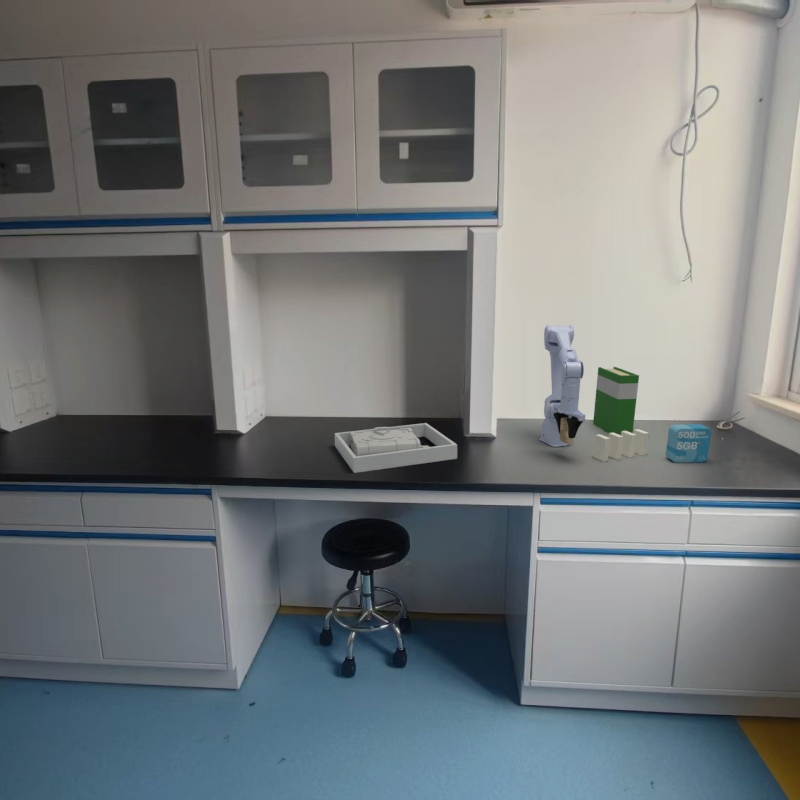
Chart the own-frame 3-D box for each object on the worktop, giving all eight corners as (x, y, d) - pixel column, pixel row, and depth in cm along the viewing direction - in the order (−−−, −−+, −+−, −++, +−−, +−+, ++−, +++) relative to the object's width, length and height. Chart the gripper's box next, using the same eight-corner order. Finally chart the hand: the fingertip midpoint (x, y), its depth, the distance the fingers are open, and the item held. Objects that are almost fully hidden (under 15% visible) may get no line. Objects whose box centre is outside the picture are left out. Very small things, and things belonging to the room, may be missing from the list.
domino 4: (619, 453, 180) (621, 431, 178) (623, 452, 180) (625, 430, 178) (629, 457, 175) (631, 435, 173) (633, 456, 176) (636, 434, 174)
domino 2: (593, 456, 176) (595, 434, 174) (598, 456, 177) (600, 434, 175) (603, 461, 172) (605, 439, 170) (608, 460, 172) (610, 438, 170)
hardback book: (593, 423, 214) (598, 367, 208) (610, 423, 215) (615, 366, 209) (613, 436, 197) (620, 375, 191) (632, 436, 198) (639, 375, 192)
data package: (671, 462, 170) (676, 428, 167) (664, 458, 175) (669, 424, 172) (707, 462, 171) (712, 428, 168) (699, 457, 175) (704, 424, 172)
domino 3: (606, 454, 178) (608, 433, 176) (611, 454, 179) (613, 432, 177) (616, 459, 174) (618, 437, 172) (621, 458, 174) (623, 436, 172)
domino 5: (631, 451, 181) (633, 429, 180) (635, 450, 182) (638, 429, 180) (641, 455, 177) (644, 433, 175) (646, 454, 178) (649, 432, 176)
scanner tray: (335, 446, 188) (334, 433, 187) (426, 435, 200) (426, 423, 199) (354, 472, 163) (353, 458, 162) (457, 458, 175) (457, 444, 174)
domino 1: (559, 440, 177) (561, 417, 175) (564, 439, 178) (565, 417, 176) (568, 444, 173) (569, 421, 171) (573, 443, 173) (574, 421, 171)
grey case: (436, 458, 176) (436, 437, 174) (355, 464, 171) (354, 442, 169) (422, 441, 195) (422, 422, 193) (349, 446, 189) (348, 427, 188)
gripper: (546, 393, 176) (544, 430, 180) (573, 403, 163) (570, 443, 167) (563, 391, 179) (560, 428, 182) (592, 401, 166) (588, 440, 169)
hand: (566, 435), depth 175 cm, fingers closed on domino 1, 5 cm apart
